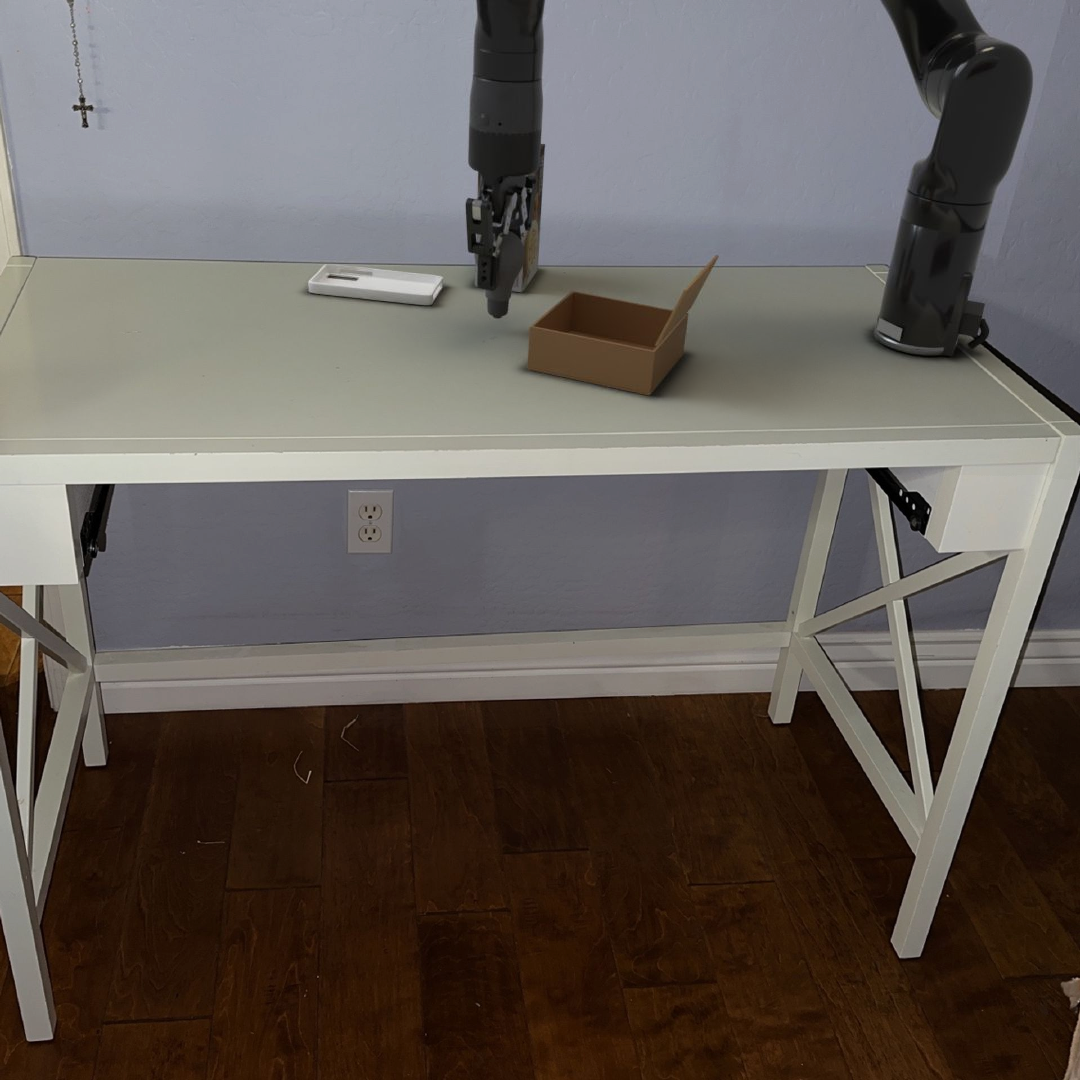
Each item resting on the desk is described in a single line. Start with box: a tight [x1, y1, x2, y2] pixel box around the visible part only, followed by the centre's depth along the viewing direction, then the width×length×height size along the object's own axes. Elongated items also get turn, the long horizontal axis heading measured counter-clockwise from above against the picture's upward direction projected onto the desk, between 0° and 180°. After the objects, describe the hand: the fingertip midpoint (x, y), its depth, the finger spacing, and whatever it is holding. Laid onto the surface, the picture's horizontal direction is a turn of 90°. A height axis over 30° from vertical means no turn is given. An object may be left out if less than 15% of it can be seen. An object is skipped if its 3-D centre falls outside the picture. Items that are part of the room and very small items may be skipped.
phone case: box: [307, 263, 444, 306], centre depth 141 cm, size 7×1×15 cm
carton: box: [526, 290, 689, 396], centre depth 125 cm, size 14×13×5 cm
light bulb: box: [474, 231, 525, 319], centre depth 128 cm, size 6×6×10 cm
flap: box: [655, 254, 720, 347], centre depth 119 cm, size 7×12×1 cm
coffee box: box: [474, 143, 546, 293], centre depth 143 cm, size 9×6×16 cm
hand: (499, 280), depth 129 cm, fingers closed on light bulb, 5 cm apart
